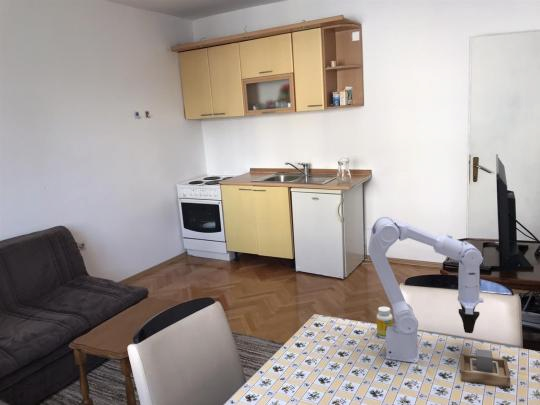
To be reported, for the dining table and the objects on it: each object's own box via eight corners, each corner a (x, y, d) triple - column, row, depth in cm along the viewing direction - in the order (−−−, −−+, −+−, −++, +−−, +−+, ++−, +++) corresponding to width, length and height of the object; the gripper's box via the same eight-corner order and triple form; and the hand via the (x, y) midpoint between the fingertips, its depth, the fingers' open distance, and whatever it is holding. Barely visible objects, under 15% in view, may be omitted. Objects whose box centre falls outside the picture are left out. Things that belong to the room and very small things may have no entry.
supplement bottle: (384, 329, 157) (383, 304, 156) (396, 335, 153) (395, 308, 151) (373, 334, 154) (372, 308, 153) (385, 340, 150) (384, 313, 148)
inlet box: (461, 381, 125) (461, 371, 124) (461, 362, 134) (461, 353, 133) (510, 388, 120) (510, 378, 119) (506, 368, 129) (506, 359, 128)
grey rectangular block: (476, 375, 126) (476, 355, 125) (475, 368, 129) (476, 348, 128) (492, 377, 124) (492, 357, 123) (491, 370, 128) (491, 350, 127)
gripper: (485, 294, 125) (484, 339, 128) (482, 277, 138) (481, 318, 141) (457, 292, 128) (457, 336, 130) (457, 275, 141) (457, 315, 143)
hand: (468, 326), depth 136 cm, fingers open, 7 cm apart
